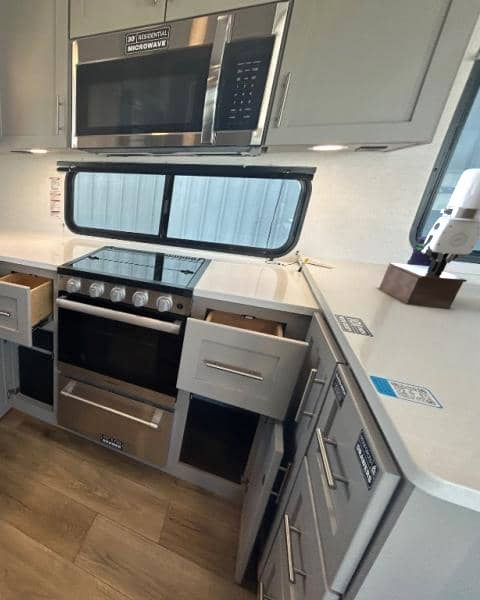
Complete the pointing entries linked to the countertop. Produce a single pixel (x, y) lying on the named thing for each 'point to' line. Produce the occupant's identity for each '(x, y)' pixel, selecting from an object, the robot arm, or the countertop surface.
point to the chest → (419, 289)
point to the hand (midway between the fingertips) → (433, 273)
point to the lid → (422, 272)
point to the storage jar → (419, 254)
